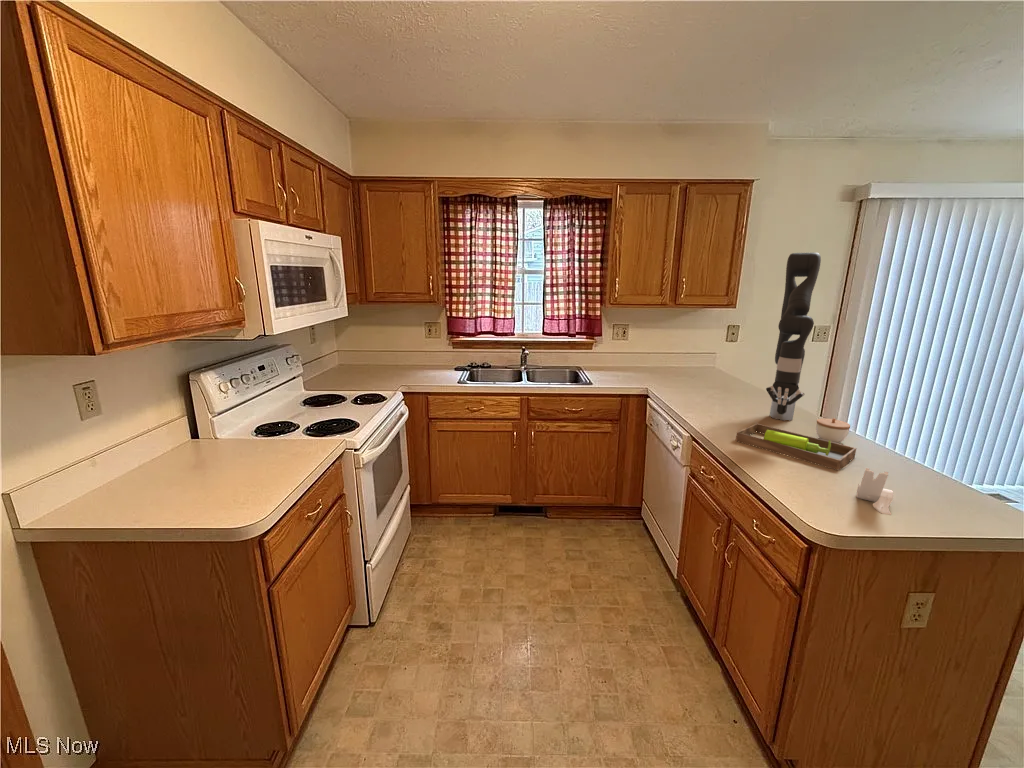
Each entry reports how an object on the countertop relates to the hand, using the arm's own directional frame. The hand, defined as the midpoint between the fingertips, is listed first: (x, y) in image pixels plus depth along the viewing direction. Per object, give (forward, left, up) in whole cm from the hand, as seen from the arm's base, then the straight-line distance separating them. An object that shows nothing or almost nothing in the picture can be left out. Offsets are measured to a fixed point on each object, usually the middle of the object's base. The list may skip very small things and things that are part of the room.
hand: (781, 413), depth 167 cm
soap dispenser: (+6, -2, -8) cm, 10 cm away
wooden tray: (+1, +6, -12) cm, 13 cm away
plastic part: (+29, +36, -12) cm, 48 cm away
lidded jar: (-20, +12, -12) cm, 26 cm away
